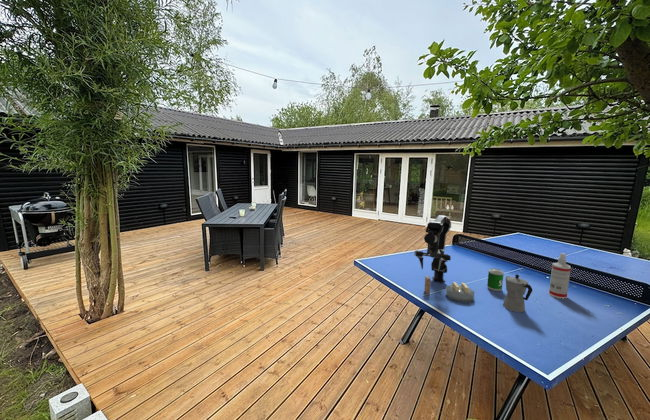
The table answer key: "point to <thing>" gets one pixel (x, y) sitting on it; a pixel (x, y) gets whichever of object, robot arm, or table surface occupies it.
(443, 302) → the table surface
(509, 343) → the table surface
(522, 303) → the coffeepot
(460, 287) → the blue-grey bowl
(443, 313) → the table surface
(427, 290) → the tall brown wooden block
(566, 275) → the white squeeze bottle
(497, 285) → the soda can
